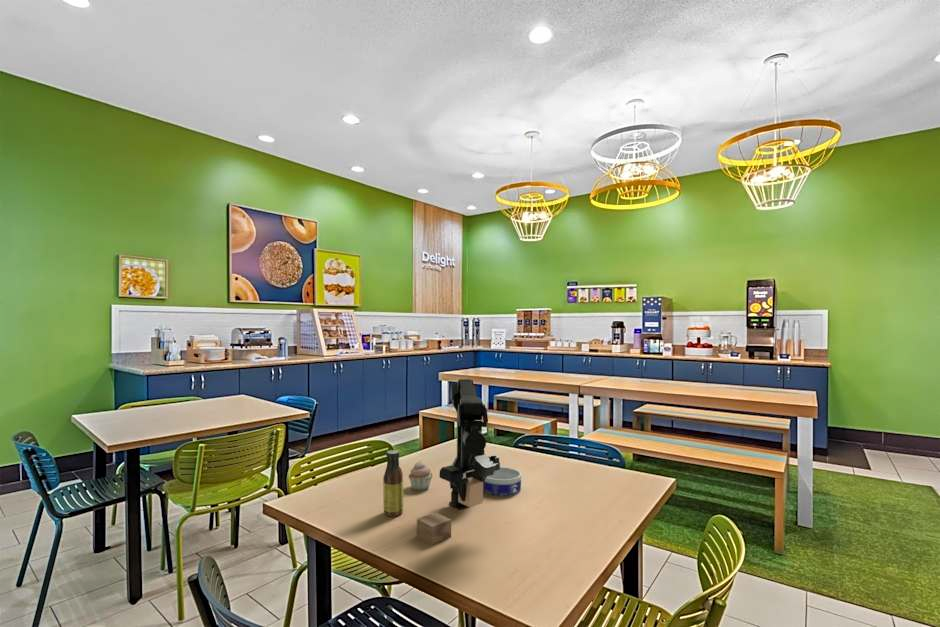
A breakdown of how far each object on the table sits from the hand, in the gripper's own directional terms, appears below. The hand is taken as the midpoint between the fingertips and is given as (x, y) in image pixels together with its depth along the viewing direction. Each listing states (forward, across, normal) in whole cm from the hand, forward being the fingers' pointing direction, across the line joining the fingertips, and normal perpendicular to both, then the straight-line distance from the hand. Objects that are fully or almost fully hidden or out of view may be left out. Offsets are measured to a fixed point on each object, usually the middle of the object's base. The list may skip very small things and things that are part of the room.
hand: (470, 498), depth 132 cm
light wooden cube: (+1, 0, 0) cm, 1 cm away
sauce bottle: (+11, -8, +28) cm, 31 cm away
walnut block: (+11, -8, +7) cm, 15 cm away
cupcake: (+11, +12, +42) cm, 45 cm away
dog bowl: (+12, +35, +22) cm, 43 cm away
